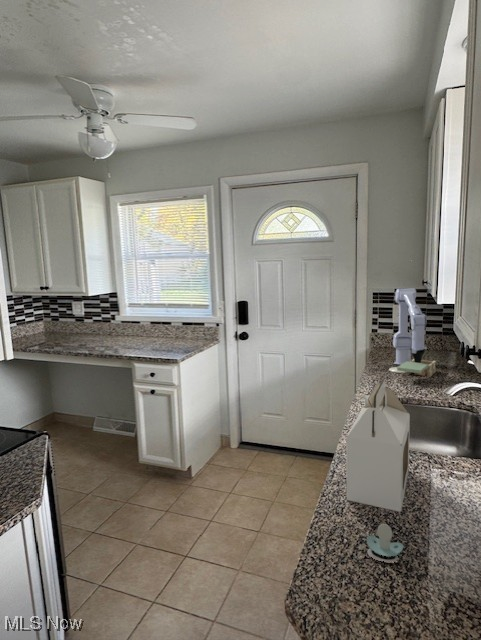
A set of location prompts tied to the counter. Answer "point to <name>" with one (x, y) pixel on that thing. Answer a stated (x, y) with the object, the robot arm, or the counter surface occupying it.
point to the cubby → (430, 369)
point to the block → (422, 373)
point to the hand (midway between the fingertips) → (417, 364)
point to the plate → (394, 369)
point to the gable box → (379, 451)
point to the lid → (413, 367)
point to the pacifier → (383, 544)
